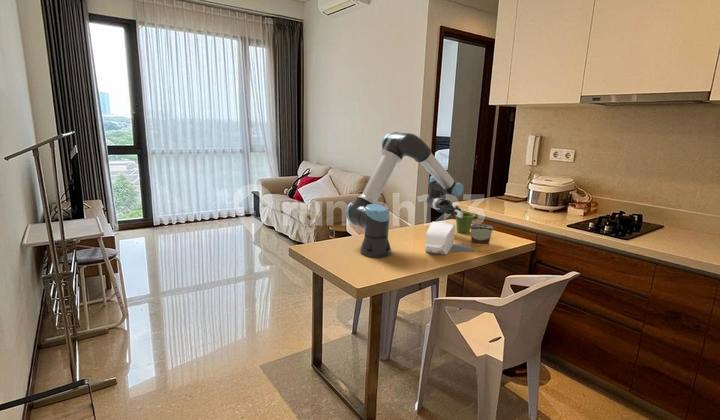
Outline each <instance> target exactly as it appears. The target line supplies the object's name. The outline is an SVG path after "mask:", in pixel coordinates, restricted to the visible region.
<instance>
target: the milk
mask: <svg viewBox="0 0 720 420" xmlns="http://www.w3.org/2000/svg"><path fill="white" fill-rule="evenodd" d="M455 227H456V224H455V223H451V222H450V223H449V222H443V221H442V222H441V221H431V224H430V225H429V227H428V229H427V230H426V234H425V252H426V253H431V254H437V255H443V256H444V255H448V253H449V252H448V251H449V250H450V249H451V247H452V246H453V244H455V243H454V242H455Z"/></svg>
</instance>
